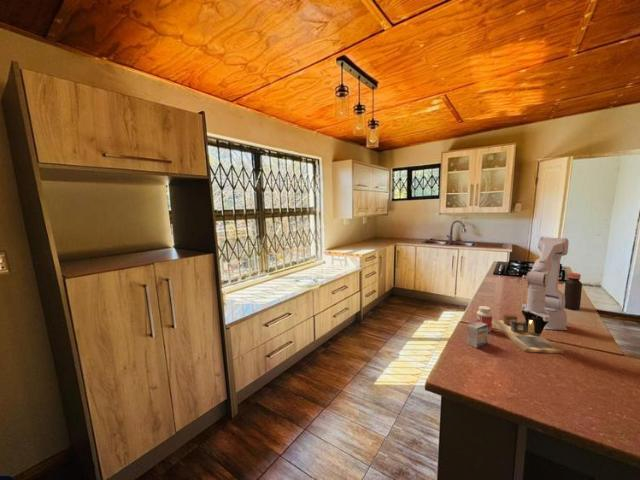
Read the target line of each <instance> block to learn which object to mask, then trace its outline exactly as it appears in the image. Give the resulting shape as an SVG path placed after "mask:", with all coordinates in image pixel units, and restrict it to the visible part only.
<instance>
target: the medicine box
mask: <svg viewBox="0 0 640 480" xmlns="http://www.w3.org/2000/svg"><path fill="white" fill-rule="evenodd" d="M488 333H489V332H488V325H487V324H485V323H482V322H477V321H476V322H473V323H470V324H468V325H466V344H467V345H469V346H470V347H473V348H474V349H477V348H480V347H482V346H484V345H487V344H488Z"/></svg>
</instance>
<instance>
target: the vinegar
mask: <svg viewBox="0 0 640 480" xmlns="http://www.w3.org/2000/svg"><path fill="white" fill-rule="evenodd" d="M580 280H581V274H580V273H578V272H577V273H576V272H568V276H567V279H566V280H565V283H564V292H563V294H564V295H565V307H564V309H566V310H569V311H570V310H571V311H580V309H581V303H582V301H581V300H582V292H583V291H582V289H583V283H582V282H581V281H580Z"/></svg>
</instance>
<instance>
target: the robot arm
mask: <svg viewBox="0 0 640 480" xmlns="http://www.w3.org/2000/svg"><path fill="white" fill-rule="evenodd" d="M537 249H539V251H540V257H539V258H537V259H536V260H535V261H534V264H533V266H532V268H531V269H530V271H528V272H527V273H526V288H527V299H526V303H521V308H522V309H523V310H521V313H522V315H523V318H524V320H525V321H524V322H526V325H527V328H528V321H529V318H532V320H533V323H534V332H535V333H536V334H541V335H542V333H543V331H544V330H553V331H556V330H557V331H558V330H561V331H567V330H568V328H567V321H568V319H567V318H568V315H567V312H566V310H564V309H565V308H564V307H565V295H564V292H562V291H561V290H560V289H559V278H560V277H559V276H560V267H561V260H562V257H563V256H567V254H568V253H569V252H568V251H569V239H568V238H566V237H565V238H562V237H548V236H547V237H544V236H540V237H539V238H538V241H537Z"/></svg>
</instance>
